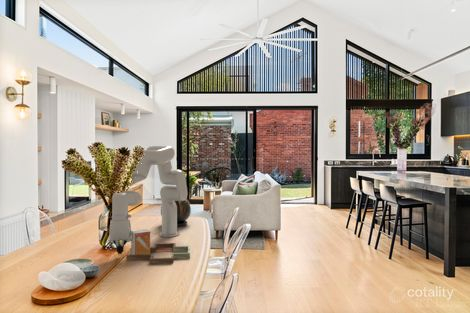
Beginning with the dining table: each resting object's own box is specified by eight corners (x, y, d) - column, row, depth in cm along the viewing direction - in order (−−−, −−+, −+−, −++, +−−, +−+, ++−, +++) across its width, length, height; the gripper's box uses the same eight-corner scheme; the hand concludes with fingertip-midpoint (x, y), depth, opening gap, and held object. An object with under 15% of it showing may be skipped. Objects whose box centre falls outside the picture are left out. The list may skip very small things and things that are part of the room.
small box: (134, 259, 167) (134, 233, 167) (131, 256, 172) (130, 230, 172) (150, 256, 171) (150, 231, 171) (146, 253, 177) (146, 228, 176)
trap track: (132, 249, 184) (132, 244, 184) (189, 247, 188) (189, 242, 188) (123, 265, 158) (123, 260, 158) (190, 262, 162) (190, 257, 162)
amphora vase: (188, 228, 232) (188, 188, 232) (157, 228, 233) (157, 187, 232) (192, 221, 254) (192, 184, 253) (164, 221, 254) (164, 184, 253)
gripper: (136, 215, 175) (136, 250, 175) (106, 216, 173) (106, 251, 173) (134, 218, 167) (134, 255, 167) (102, 219, 165) (102, 256, 165)
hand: (120, 253), depth 170 cm, fingers closed
